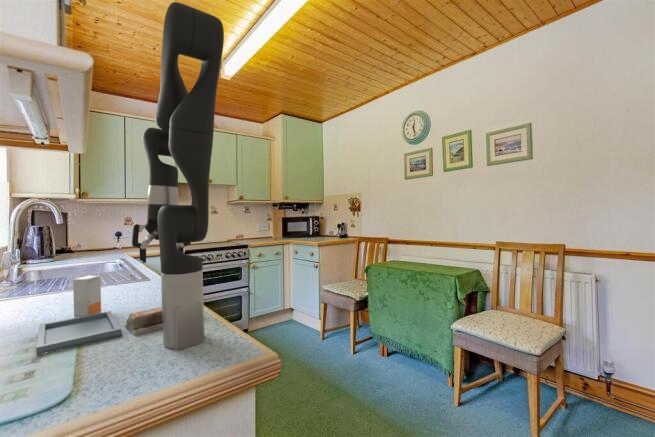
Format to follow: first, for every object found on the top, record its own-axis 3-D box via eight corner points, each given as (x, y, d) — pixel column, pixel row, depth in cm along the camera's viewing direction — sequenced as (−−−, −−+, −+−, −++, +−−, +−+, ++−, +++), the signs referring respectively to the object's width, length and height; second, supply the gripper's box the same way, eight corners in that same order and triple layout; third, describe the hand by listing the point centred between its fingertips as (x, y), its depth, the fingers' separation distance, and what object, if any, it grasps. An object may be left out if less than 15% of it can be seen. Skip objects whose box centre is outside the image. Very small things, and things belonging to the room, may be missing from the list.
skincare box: (87, 318, 94) (85, 279, 94) (73, 318, 94) (72, 279, 94) (102, 312, 100) (101, 275, 100) (89, 312, 100) (87, 275, 100)
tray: (121, 335, 80) (121, 328, 80) (36, 355, 70) (36, 347, 70) (110, 316, 95) (110, 311, 95) (39, 330, 85) (39, 324, 85)
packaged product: (133, 319, 80) (123, 311, 87) (134, 338, 80) (124, 328, 87) (202, 303, 93) (189, 297, 100) (203, 319, 93) (189, 312, 100)
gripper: (133, 202, 78) (132, 265, 79) (193, 204, 87) (192, 262, 87) (131, 201, 85) (130, 260, 85) (188, 203, 93) (186, 257, 93)
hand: (162, 261), depth 86 cm, fingers open, 8 cm apart
